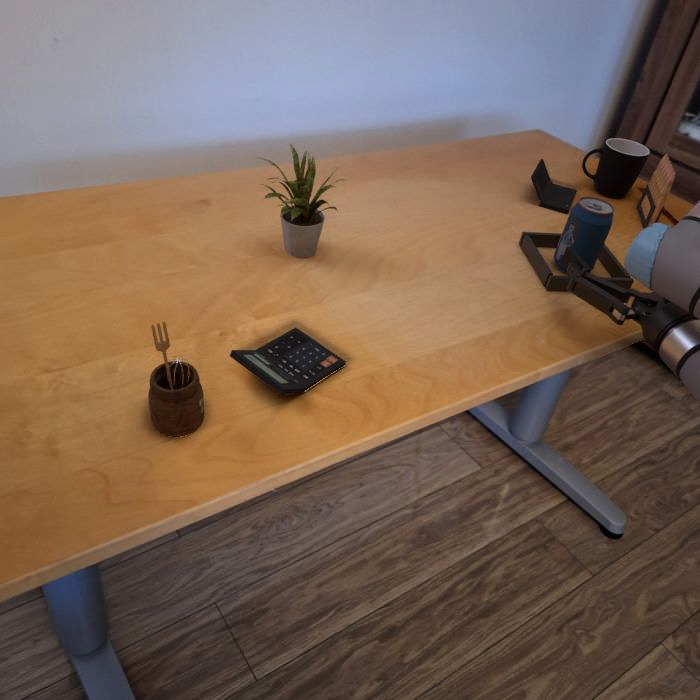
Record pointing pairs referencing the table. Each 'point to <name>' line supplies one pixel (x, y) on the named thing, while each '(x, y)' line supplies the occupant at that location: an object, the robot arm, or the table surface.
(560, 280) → the dark brown square frame
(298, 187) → the house plant
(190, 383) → the utensil holder
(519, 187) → the table surface
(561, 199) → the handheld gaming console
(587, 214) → the soda can
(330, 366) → the calculator
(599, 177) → the mug
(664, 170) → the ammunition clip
